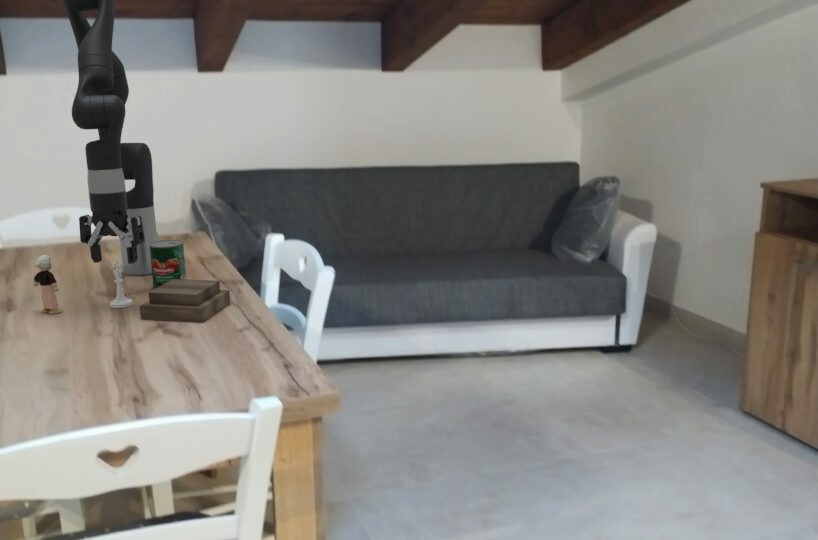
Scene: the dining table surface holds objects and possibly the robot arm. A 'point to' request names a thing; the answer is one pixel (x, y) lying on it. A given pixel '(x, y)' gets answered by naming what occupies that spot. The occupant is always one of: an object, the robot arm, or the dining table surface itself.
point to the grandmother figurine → (47, 285)
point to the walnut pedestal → (185, 301)
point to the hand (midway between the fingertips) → (114, 262)
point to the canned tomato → (167, 261)
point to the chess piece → (119, 290)
